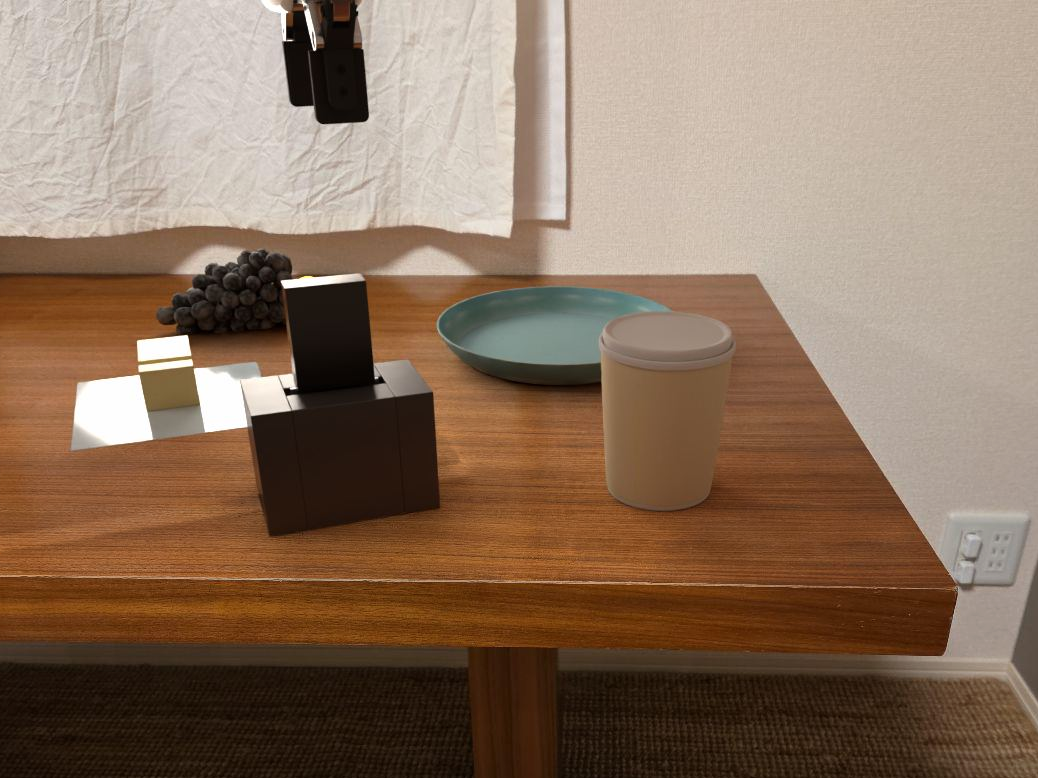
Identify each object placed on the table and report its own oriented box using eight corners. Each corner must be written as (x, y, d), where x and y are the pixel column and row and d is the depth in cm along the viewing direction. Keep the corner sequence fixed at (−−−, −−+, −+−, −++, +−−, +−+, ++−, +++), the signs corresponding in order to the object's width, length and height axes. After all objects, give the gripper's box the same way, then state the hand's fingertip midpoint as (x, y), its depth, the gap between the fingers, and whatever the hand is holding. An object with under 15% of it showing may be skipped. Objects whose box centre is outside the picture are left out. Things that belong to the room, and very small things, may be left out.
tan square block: (146, 411, 85) (138, 372, 84) (146, 404, 87) (138, 365, 85) (200, 404, 87) (193, 365, 85) (199, 397, 88) (192, 359, 86)
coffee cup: (667, 450, 80) (677, 302, 74) (748, 495, 73) (766, 335, 68) (570, 479, 76) (572, 323, 70) (647, 529, 69) (656, 362, 63)
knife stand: (269, 536, 68) (250, 416, 64) (257, 493, 74) (239, 379, 70) (440, 507, 72) (433, 391, 68) (416, 468, 78) (408, 358, 73)
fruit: (143, 258, 98) (298, 240, 103) (143, 267, 106) (287, 249, 110) (163, 348, 100) (314, 326, 105) (163, 350, 107) (303, 329, 112)
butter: (145, 400, 88) (137, 361, 86) (144, 377, 93) (136, 340, 91) (198, 393, 89) (191, 355, 87) (194, 371, 94) (187, 334, 92)
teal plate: (400, 382, 94) (398, 348, 92) (482, 308, 114) (481, 279, 113) (657, 407, 88) (659, 371, 87) (695, 325, 109) (698, 294, 107)
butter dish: (72, 462, 79) (70, 451, 78) (79, 392, 92) (76, 382, 92) (280, 433, 84) (278, 422, 83) (258, 371, 97) (256, 361, 96)
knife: (308, 513, 71) (278, 289, 64) (304, 501, 73) (274, 281, 65) (391, 499, 73) (372, 280, 65) (385, 488, 75) (366, 272, 67)
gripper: (210, -196, 63) (251, 102, 71) (244, -245, 49) (290, 134, 57) (330, -191, 65) (356, 97, 73) (396, -236, 51) (418, 127, 59)
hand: (327, 113), depth 65 cm, fingers open, 9 cm apart
